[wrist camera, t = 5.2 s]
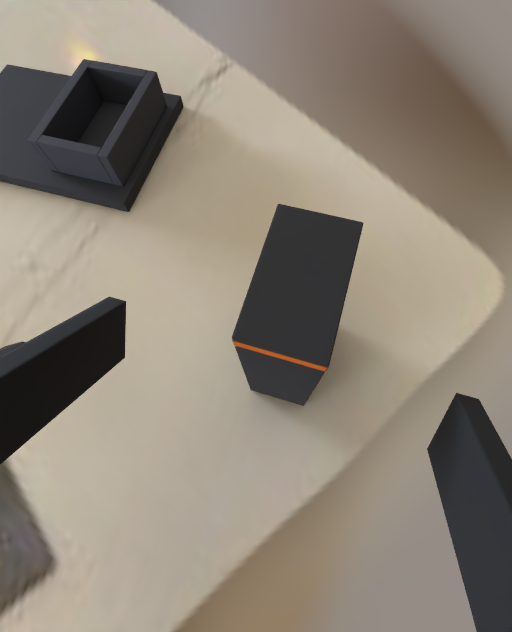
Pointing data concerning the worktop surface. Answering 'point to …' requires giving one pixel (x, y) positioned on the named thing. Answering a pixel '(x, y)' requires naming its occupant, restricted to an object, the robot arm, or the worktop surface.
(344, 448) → the worktop surface
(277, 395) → the black orange-striped block
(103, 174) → the base pad
